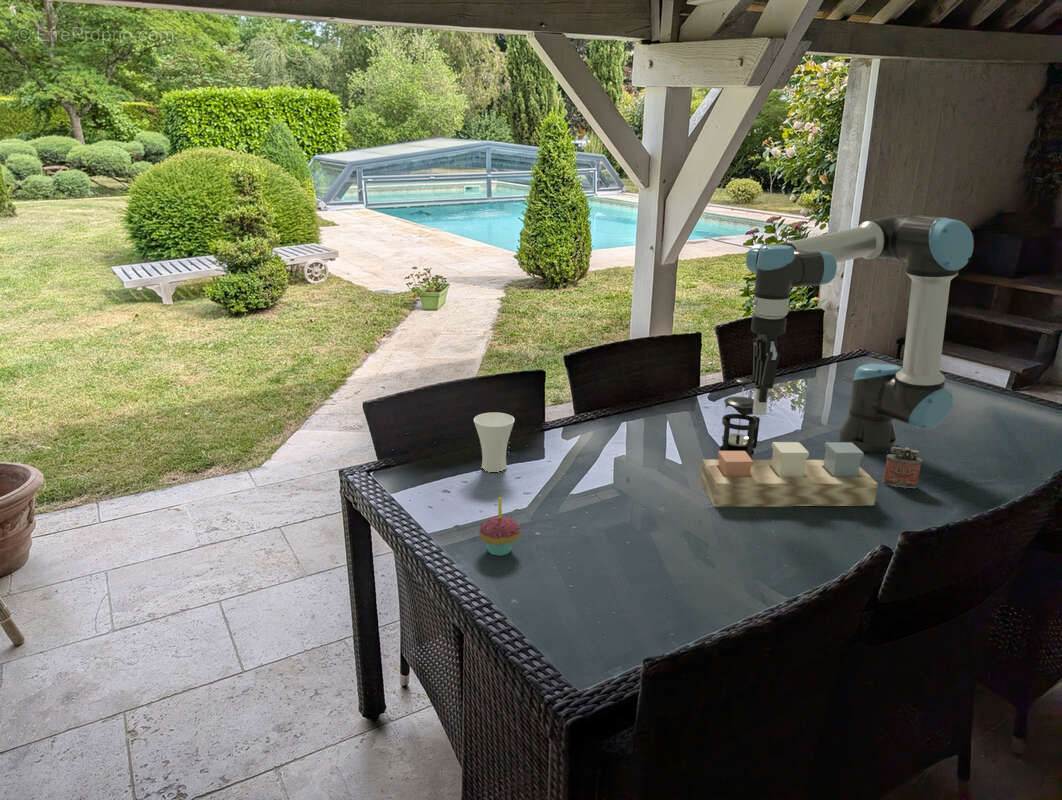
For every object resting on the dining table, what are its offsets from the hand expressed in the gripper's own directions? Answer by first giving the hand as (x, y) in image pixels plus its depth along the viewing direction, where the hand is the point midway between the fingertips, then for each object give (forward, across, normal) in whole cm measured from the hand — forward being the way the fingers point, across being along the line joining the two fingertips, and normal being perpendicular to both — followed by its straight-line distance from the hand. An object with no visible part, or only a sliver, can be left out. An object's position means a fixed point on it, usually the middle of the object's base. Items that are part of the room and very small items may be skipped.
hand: (759, 413), depth 181 cm
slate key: (+15, 0, +21) cm, 26 cm away
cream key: (+15, 0, +8) cm, 17 cm away
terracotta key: (+17, 0, -5) cm, 18 cm away
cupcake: (+20, +28, -60) cm, 70 cm away
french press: (+21, -20, +2) cm, 29 cm away
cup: (+20, -14, -63) cm, 68 cm away
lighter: (+21, -5, +39) cm, 45 cm away
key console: (+21, 0, +8) cm, 22 cm away
